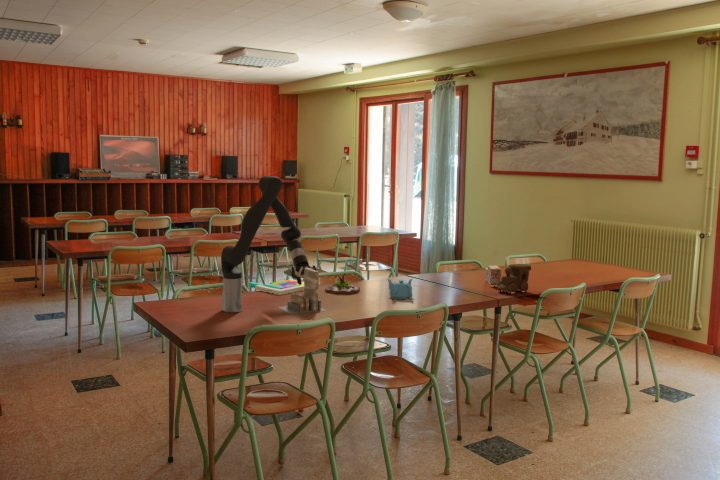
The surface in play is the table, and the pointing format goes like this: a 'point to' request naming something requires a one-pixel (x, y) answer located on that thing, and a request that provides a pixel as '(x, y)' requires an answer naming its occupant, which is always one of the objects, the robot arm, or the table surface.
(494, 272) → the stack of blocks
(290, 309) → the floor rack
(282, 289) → the puzzle game
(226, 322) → the table surface
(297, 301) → the pine offcuts
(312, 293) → the birch panel
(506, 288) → the wooden toy train
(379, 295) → the table surface
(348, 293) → the plant
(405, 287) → the teapot
